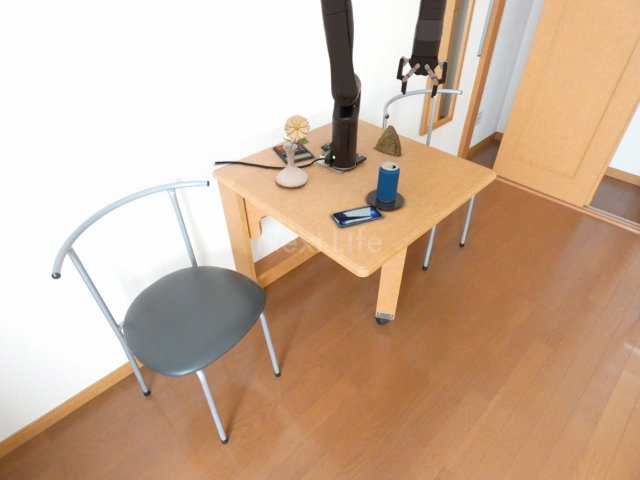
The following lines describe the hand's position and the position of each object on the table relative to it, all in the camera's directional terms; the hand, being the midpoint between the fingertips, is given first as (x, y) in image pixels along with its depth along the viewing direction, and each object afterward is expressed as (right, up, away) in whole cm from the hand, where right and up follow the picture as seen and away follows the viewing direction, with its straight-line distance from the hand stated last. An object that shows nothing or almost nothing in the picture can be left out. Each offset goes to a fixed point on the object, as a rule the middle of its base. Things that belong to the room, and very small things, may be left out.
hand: (418, 95), depth 114 cm
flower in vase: (-39, -24, +19) cm, 50 cm away
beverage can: (-8, -31, +9) cm, 33 cm away
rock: (-2, -9, +37) cm, 38 cm away
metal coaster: (-9, -31, +9) cm, 34 cm away
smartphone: (-18, -37, +3) cm, 42 cm away
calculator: (-41, -9, +36) cm, 55 cm away
